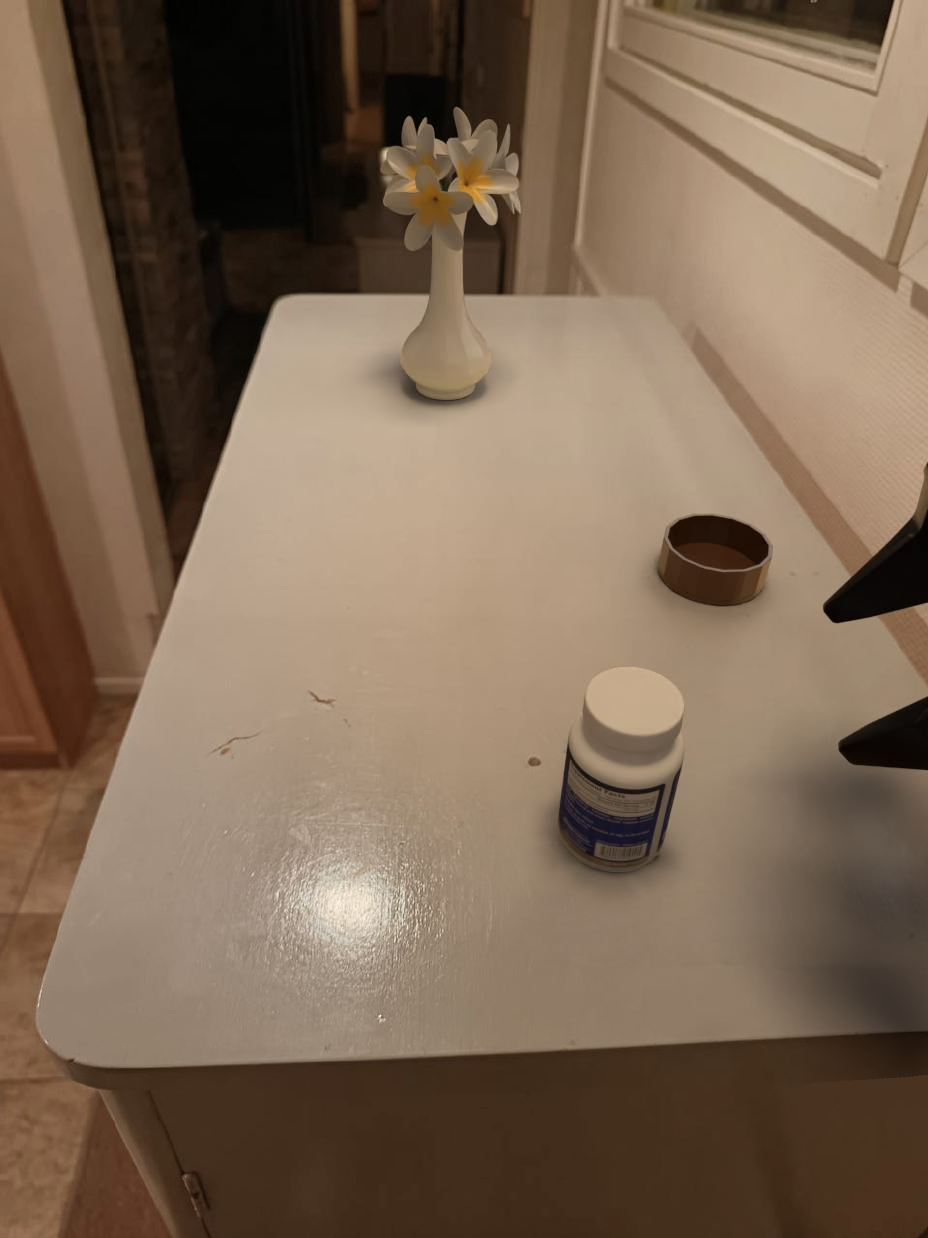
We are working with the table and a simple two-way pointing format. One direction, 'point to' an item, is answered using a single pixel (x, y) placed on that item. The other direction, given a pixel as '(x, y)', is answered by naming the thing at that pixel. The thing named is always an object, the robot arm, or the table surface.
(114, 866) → the table surface
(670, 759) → the pill bottle
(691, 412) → the table surface
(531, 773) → the table surface
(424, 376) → the flower vase
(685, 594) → the dock
